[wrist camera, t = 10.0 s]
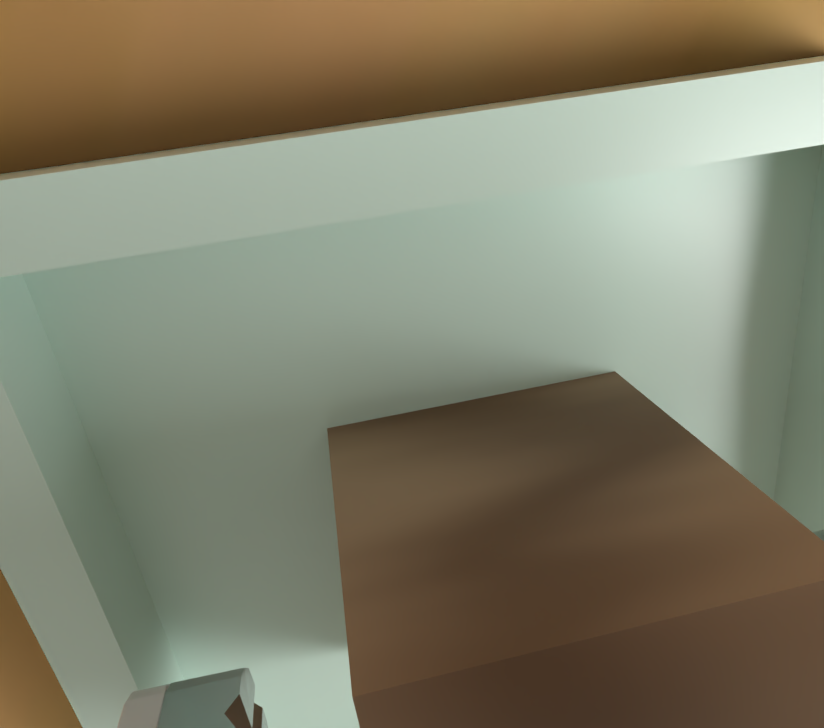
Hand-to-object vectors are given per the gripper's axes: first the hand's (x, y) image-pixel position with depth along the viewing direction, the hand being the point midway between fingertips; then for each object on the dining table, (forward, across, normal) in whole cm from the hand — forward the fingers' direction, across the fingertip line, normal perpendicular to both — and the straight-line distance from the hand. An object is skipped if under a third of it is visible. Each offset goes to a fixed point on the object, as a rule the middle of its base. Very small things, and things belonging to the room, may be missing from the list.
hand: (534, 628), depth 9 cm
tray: (+4, 0, 0) cm, 4 cm away
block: (+3, 0, 0) cm, 3 cm away
